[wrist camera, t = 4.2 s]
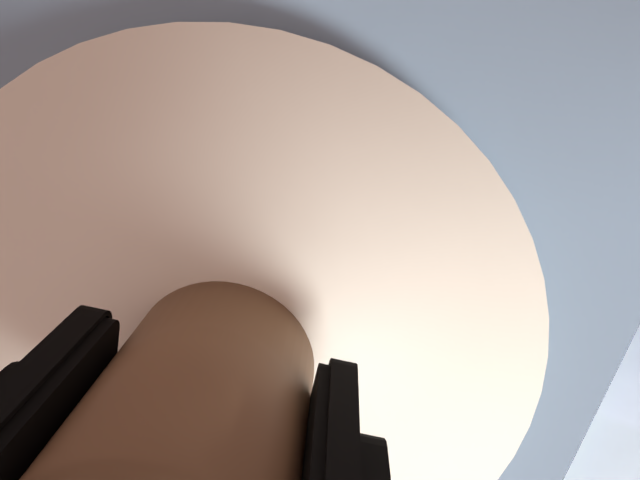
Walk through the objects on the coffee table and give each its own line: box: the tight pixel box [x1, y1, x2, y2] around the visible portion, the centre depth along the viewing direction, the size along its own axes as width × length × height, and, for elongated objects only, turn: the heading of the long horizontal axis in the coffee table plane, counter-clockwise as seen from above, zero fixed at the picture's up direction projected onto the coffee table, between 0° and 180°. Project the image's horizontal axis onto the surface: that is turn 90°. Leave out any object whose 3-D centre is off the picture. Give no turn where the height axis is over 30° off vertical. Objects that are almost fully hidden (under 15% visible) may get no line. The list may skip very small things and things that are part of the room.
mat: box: [0, 0, 640, 480], centre depth 13 cm, size 18×18×1 cm
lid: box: [0, 22, 549, 480], centre depth 9 cm, size 14×14×6 cm
